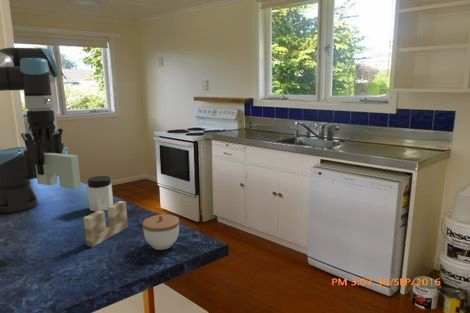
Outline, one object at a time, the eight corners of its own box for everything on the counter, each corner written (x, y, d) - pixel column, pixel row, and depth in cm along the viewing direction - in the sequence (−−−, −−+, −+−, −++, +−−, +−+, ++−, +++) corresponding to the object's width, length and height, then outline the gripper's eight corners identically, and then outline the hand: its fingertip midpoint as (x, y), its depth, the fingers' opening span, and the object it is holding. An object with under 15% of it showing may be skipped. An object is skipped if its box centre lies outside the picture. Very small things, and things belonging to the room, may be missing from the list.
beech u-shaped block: (93, 246, 109) (90, 218, 107) (86, 245, 110) (83, 217, 108) (127, 226, 123) (125, 201, 121) (121, 225, 124) (119, 200, 122)
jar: (92, 213, 136) (89, 182, 134) (87, 207, 143) (84, 178, 141) (116, 208, 141) (113, 178, 139) (110, 203, 148) (108, 174, 145)
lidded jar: (163, 256, 102) (161, 225, 100) (136, 248, 108) (134, 218, 106) (187, 242, 111) (186, 213, 109) (161, 234, 117) (159, 207, 115)
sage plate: (37, 183, 118) (33, 153, 116) (44, 181, 120) (40, 151, 118) (74, 188, 111) (71, 156, 109) (80, 186, 114) (77, 155, 112)
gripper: (25, 112, 104) (35, 190, 109) (69, 108, 118) (76, 178, 123) (7, 111, 107) (18, 188, 112) (52, 107, 121) (60, 176, 126)
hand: (49, 182), depth 117 cm, fingers closed on sage plate, 2 cm apart
